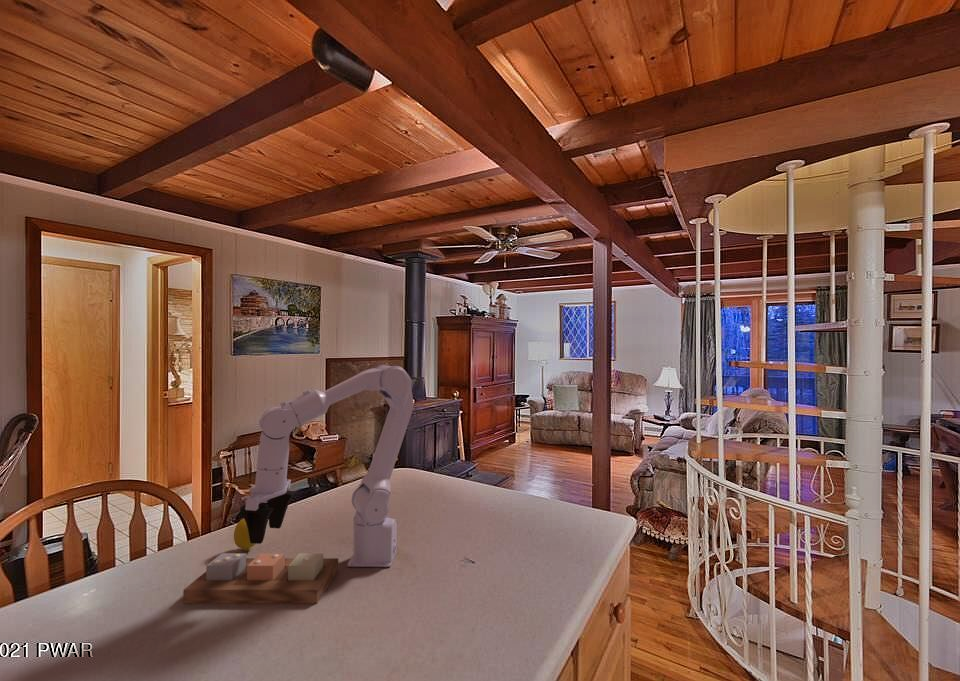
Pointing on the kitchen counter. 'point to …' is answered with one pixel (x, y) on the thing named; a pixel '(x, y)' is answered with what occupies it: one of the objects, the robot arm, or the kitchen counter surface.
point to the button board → (261, 587)
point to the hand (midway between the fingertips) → (266, 534)
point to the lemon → (242, 536)
